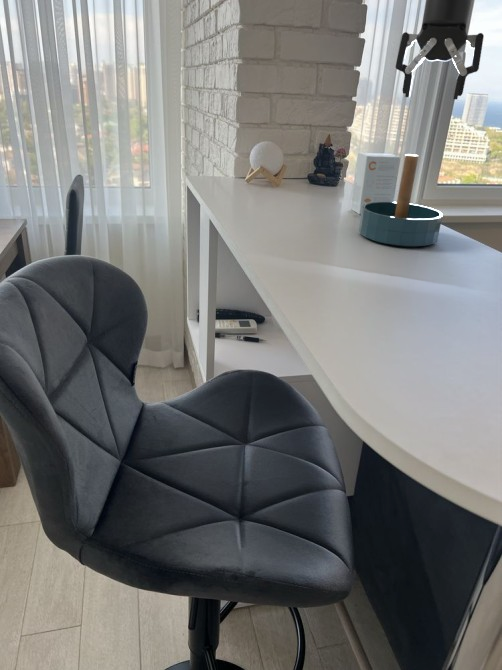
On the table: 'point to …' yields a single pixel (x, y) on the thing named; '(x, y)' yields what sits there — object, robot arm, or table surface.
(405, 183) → the wooden stick
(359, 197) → the small box
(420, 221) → the bowl
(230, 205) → the table surface
